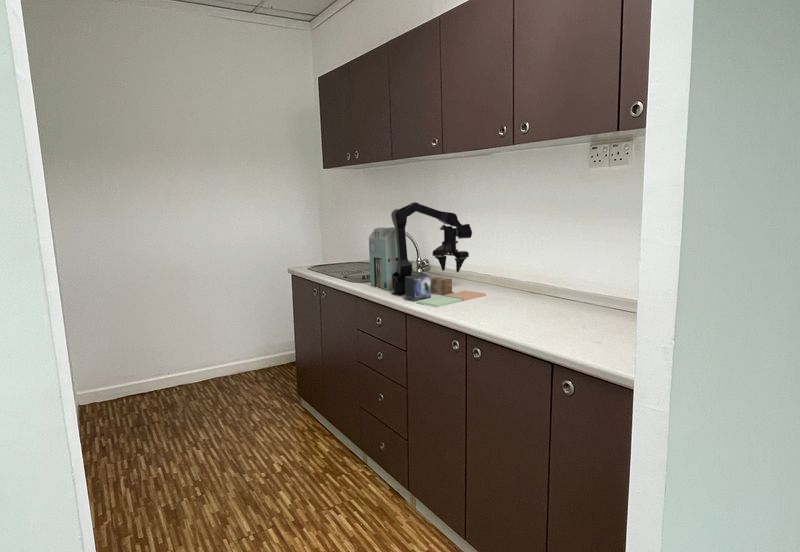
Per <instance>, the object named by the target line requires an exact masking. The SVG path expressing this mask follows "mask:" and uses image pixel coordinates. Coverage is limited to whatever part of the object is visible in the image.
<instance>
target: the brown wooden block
mask: <svg viewBox="0 0 800 552" xmlns="http://www.w3.org/2000/svg"><path fill="white" fill-rule="evenodd" d="M451 293H455V292H454V291H453V279H451V278H444V277H436V276H431V295H437V296H442V295H447V294H451Z"/></svg>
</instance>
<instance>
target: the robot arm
mask: <svg viewBox="0 0 800 552" xmlns="http://www.w3.org/2000/svg"><path fill="white" fill-rule="evenodd" d="M416 212H417V213H419V214H422V215H425V216H428V217H431V218H434V219H436V220H438V221H439V222H440V223H442V225H441V227H439V230H440V231H443V241H441V245H440V246H438V247H436V248H435V249H433V251H432V257H434V258H435V259H437V261H438V263H439V266H440V267H441V268H440V269H441V271H442V272H443V271H445V270H446V264H447V256H451V257H452V256H454V257H455V258H454V261H455V268H456V270H455V271H456V273H459V272H460V270H461V268H462V266H463V264H464V262H465V260H467V258H469V256H470V255H469V254H470V253H469V252H468V251H466V250H459V249H457V244H459V241H458V240H457V239H459V240H460V239H470V238H472V236H473V231H472V228H471V224H469V223H465V224H462V223H461V222H460V221H459V219H458V215H457V214H456V213H454V212H449V211H441V210H438V209H435V208H433V207H429V206H426V205H424V204H420V203H419V202H414V201H413V202H411V203H409V204H407V205H406V206H403V207H401V208H395V209H394V210H392V212H391V214H390V217H391V220H392V221H391V222H392V224H393V226H394V228H395V229H396V239H397V251H398V261H397V267H396V272H395V273H394V274H393V275H392V279H393V280H394V281H393V288H394V290H393V292H391V293H390V294H391V295H395V296H405V277H407V276H412V274H413V272H414V269H413V262H411V261H409V259H408V251H407V250H408V247H407V237H406V225H407V222H408V221H407V220H408V217H409V216H411V215H413V214H414V213H416ZM446 225H447V226H446Z"/></svg>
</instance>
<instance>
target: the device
mask: <svg viewBox="0 0 800 552" xmlns="http://www.w3.org/2000/svg"><path fill="white" fill-rule="evenodd" d="M368 236H369V237H368V251H369V253H368V255H369V257H368V259H369V275H370V277H369V280H370V284H369V285H370V287H372V286H373V288H376V287H378V288H377V289H380V288H381V289H380V290H385V291H387V292H389V291H394V288H393V281H394V280H393V279H392V275H393V274H394V273H395V272H396V267H397V261H398V251H397V239H396V229H395V227H375V228H373V231H372V232H371V234H370V235H368Z"/></svg>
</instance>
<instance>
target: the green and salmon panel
mask: <svg viewBox="0 0 800 552" xmlns="http://www.w3.org/2000/svg"><path fill="white" fill-rule="evenodd" d="M485 296H486V293H484V292H478V291H472V290H461V291H457V292H454V293H451V294H447V295H437V296H433V297H431V298H428V299H424V300H419V301H416V304H417V303H418V304H419V305H424V306H428V305H429V307H435V308H438V307H439V308H440V307H443V306H448V305H452V304H456V303H460V302H464V301H465V302H466V301H468V300H473V299H477V298H481V297H485Z"/></svg>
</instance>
